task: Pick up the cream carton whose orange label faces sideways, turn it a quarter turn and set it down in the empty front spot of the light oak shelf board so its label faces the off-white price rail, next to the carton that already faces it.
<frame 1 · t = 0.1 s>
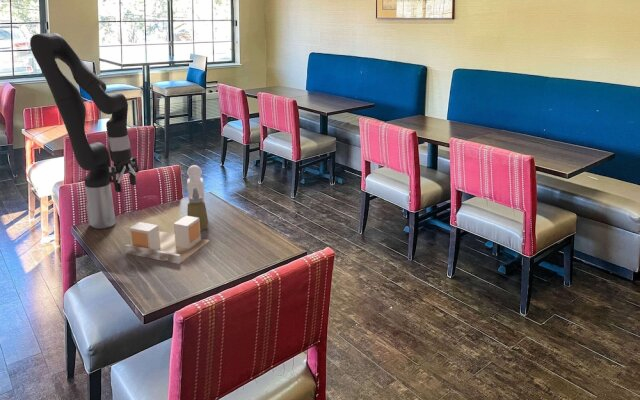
hand: (126, 188, 209), 17 cm above the table, tool pointing down, fingers open, 8 cm apart
shelf board: (169, 250, 198), on the table
faced carton: (151, 246, 198), point 1 cm above the table, touching shelf board
turned carton: (181, 241, 202), point 1 cm above the table, touching shelf board
squeeze bottle: (198, 231, 214), on the table
white figurine: (197, 215, 229), on the table
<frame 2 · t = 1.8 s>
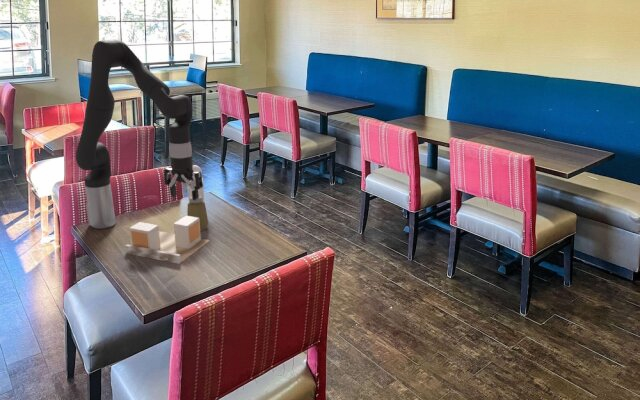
hand: (184, 197, 194), 19 cm above the table, tool pointing down, fingers open, 8 cm apart
nothing on the table moved.
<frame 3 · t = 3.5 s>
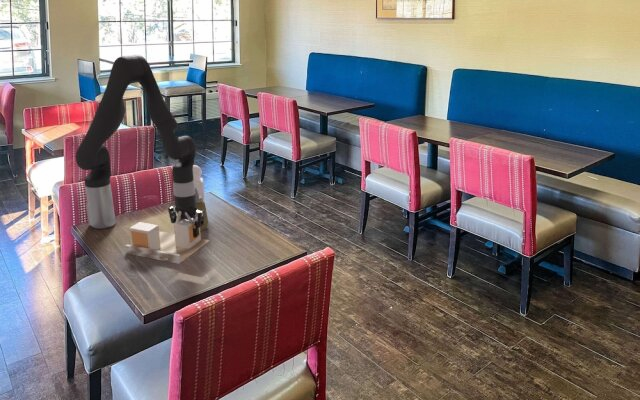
hand: (188, 235, 199), 5 cm above the table, tool pointing down, fingers closed on turned carton, 6 cm apart
turned carton: (181, 241, 202), point 1 cm above the table, touching gripper, shelf board
everything else where it was.
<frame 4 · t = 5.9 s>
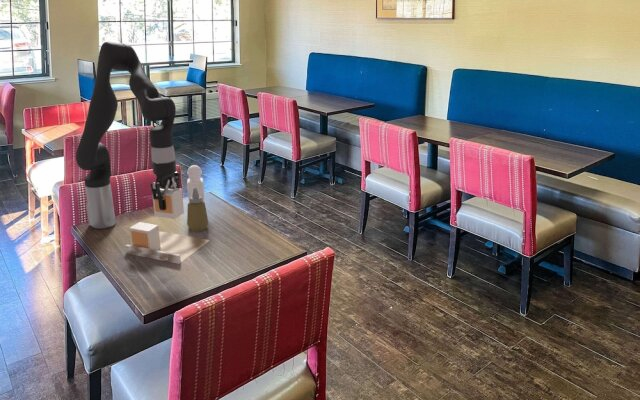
hand: (168, 206, 185), 20 cm above the table, tool pointing down, fingers closed on turned carton, 6 cm apart
turned carton: (173, 211, 189), point 17 cm above the table, touching gripper
everything else where it was.
when the fingers open (7 cm above the table, at t = 8.5 s): turned carton drops 2 cm, resting on shelf board.
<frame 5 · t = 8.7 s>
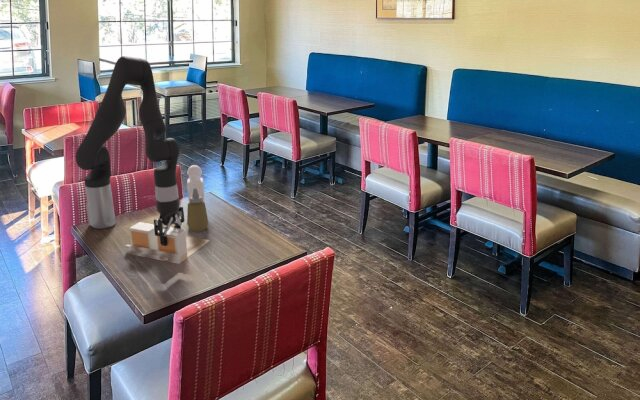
hand: (171, 240, 190), 7 cm above the table, tool pointing down, fingers open, 8 cm apart
turned carton: (177, 251, 195), point 1 cm above the table, touching shelf board
everything else where it was.
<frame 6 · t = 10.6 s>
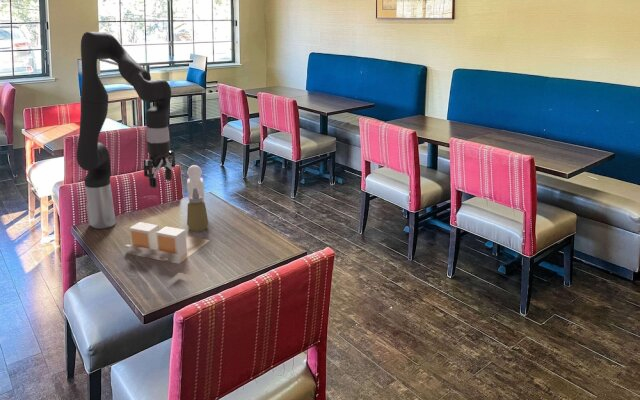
hand: (161, 183, 193), 25 cm above the table, tool pointing down, fingers open, 8 cm apart
nothing on the table moved.
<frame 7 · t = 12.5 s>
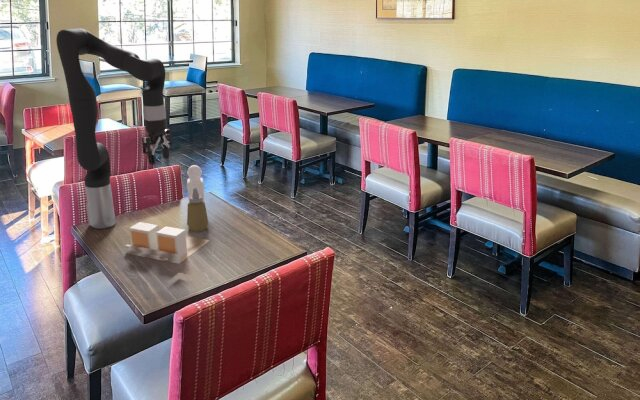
hand: (159, 161, 199), 30 cm above the table, tool pointing down, fingers open, 8 cm apart
nothing on the table moved.
at the end: turned carton 0.2 cm from the target spot, point 1.5 cm above the table; turned carton tilted 0°; faced carton moved 0.0 cm from its start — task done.
